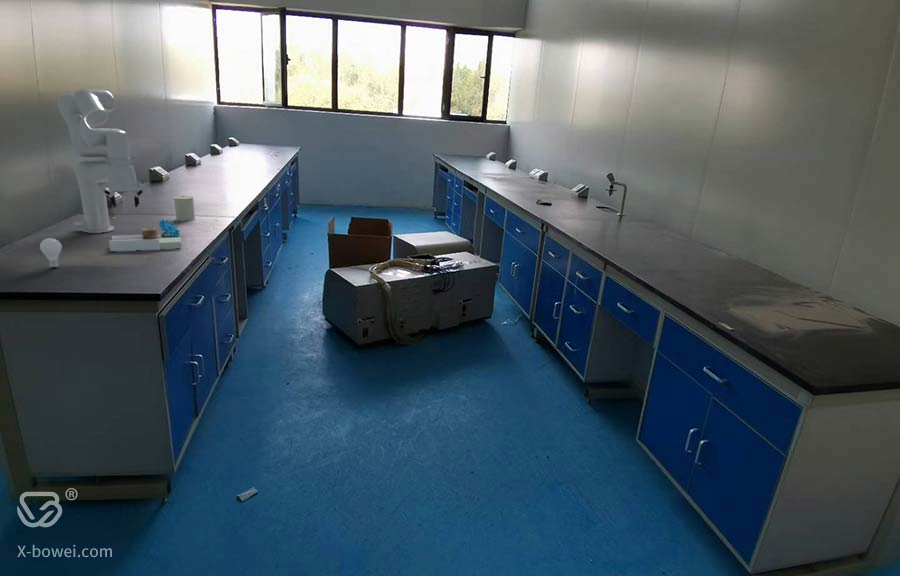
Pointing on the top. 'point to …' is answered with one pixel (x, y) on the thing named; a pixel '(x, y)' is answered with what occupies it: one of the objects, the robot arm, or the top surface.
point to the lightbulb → (51, 250)
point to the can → (184, 208)
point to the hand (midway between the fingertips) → (125, 206)
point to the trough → (143, 243)
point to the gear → (169, 228)
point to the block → (149, 233)
